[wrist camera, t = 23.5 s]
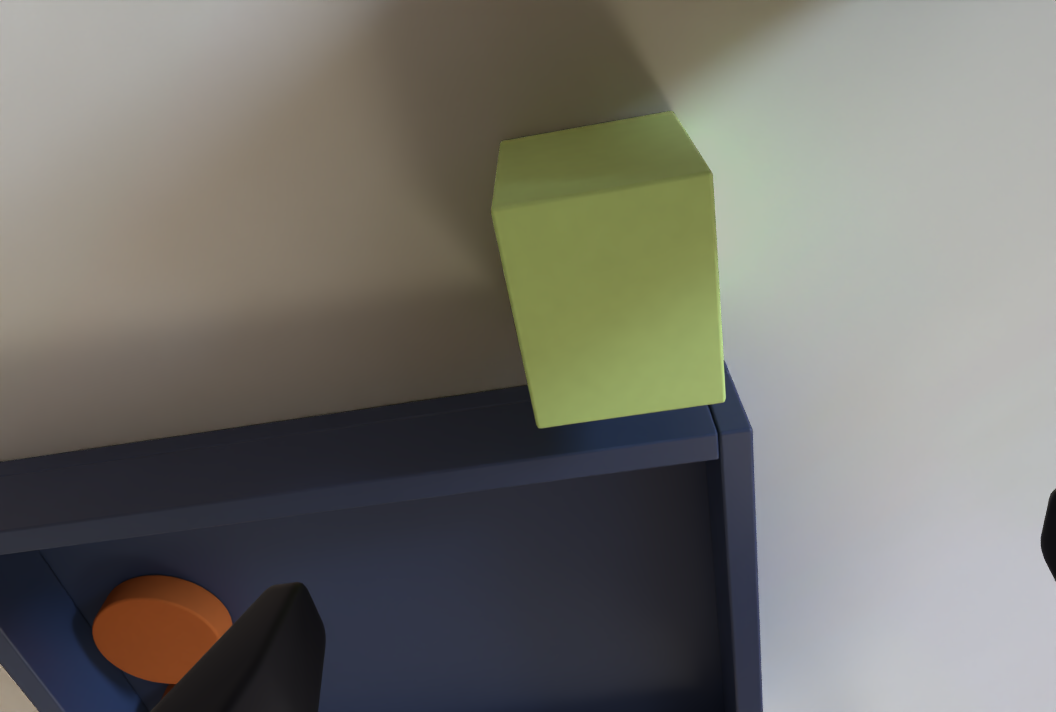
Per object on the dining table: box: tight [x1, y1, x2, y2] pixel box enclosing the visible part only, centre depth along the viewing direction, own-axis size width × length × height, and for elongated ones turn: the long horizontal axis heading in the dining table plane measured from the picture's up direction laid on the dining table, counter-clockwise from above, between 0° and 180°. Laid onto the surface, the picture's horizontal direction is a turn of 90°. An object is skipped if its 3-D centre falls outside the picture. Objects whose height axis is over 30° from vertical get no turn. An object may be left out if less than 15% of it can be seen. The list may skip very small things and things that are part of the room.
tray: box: [0, 361, 763, 712], centre depth 24 cm, size 22×16×3 cm
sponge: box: [491, 111, 726, 428], centre depth 17 cm, size 4×5×4 cm
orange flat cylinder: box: [92, 575, 232, 684], centre depth 25 cm, size 4×4×1 cm
